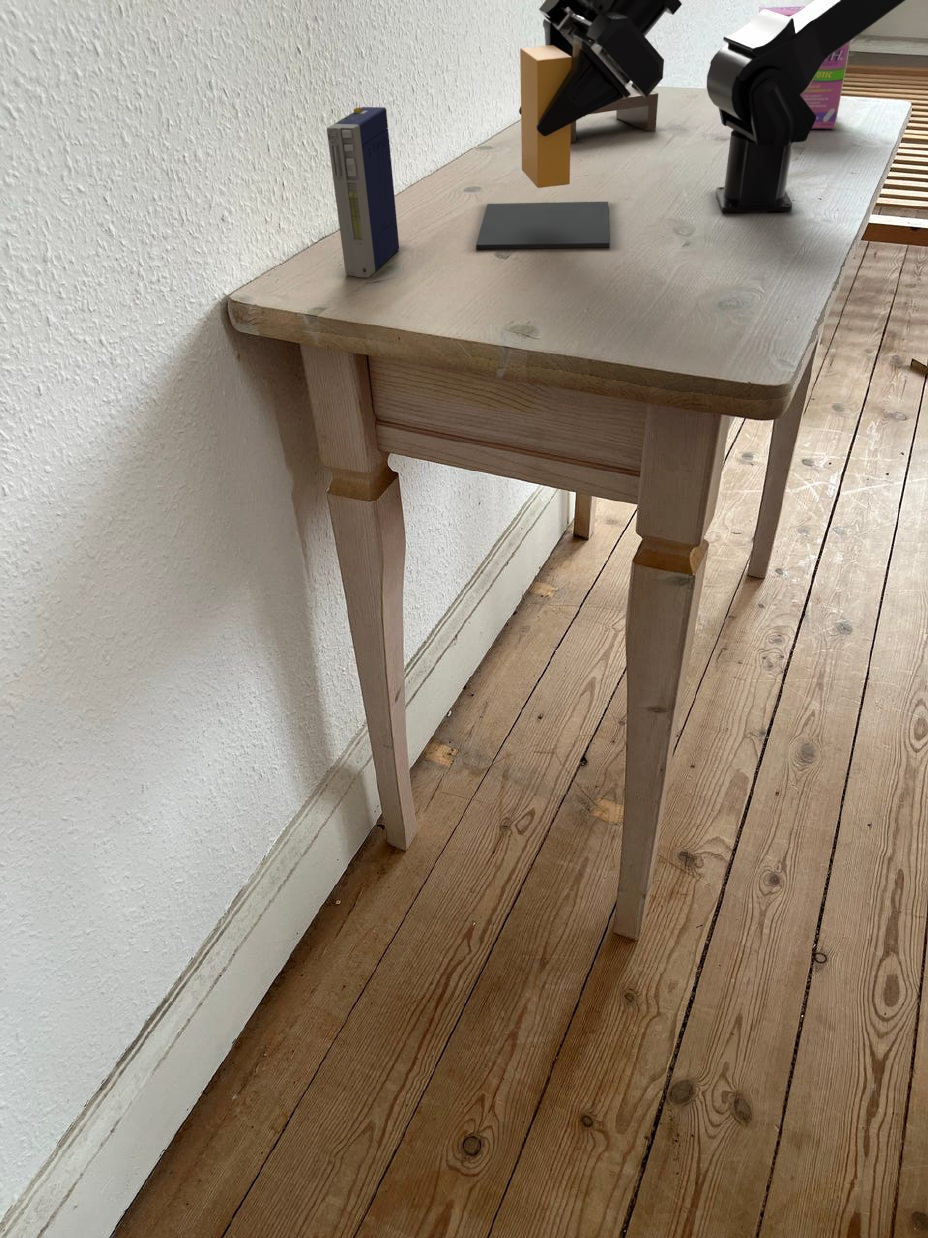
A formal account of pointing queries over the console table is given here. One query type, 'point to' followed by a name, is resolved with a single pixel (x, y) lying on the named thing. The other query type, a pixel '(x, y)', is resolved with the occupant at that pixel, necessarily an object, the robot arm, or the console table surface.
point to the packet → (538, 86)
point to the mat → (545, 225)
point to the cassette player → (364, 189)
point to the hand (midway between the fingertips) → (530, 123)
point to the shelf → (631, 111)
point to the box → (823, 81)
